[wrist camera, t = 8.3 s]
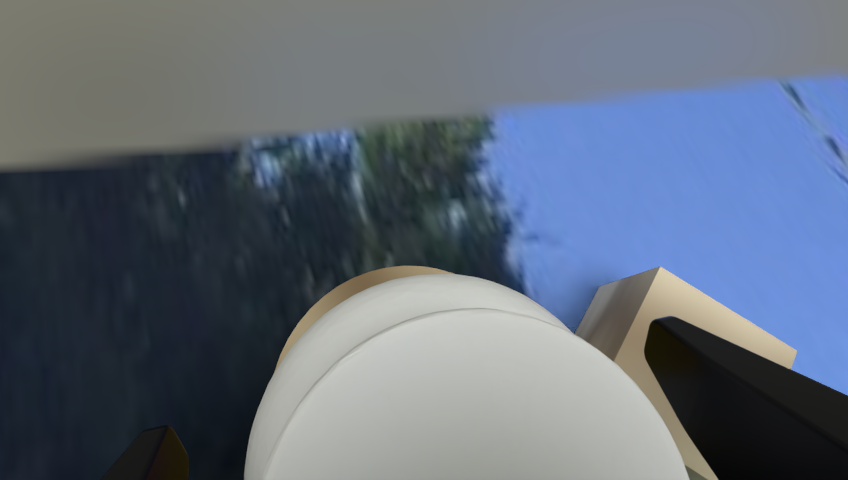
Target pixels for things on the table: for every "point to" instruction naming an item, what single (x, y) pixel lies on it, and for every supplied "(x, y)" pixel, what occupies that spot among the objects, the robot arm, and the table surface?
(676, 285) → the beech block
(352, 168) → the table surface
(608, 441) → the supplement bottle
